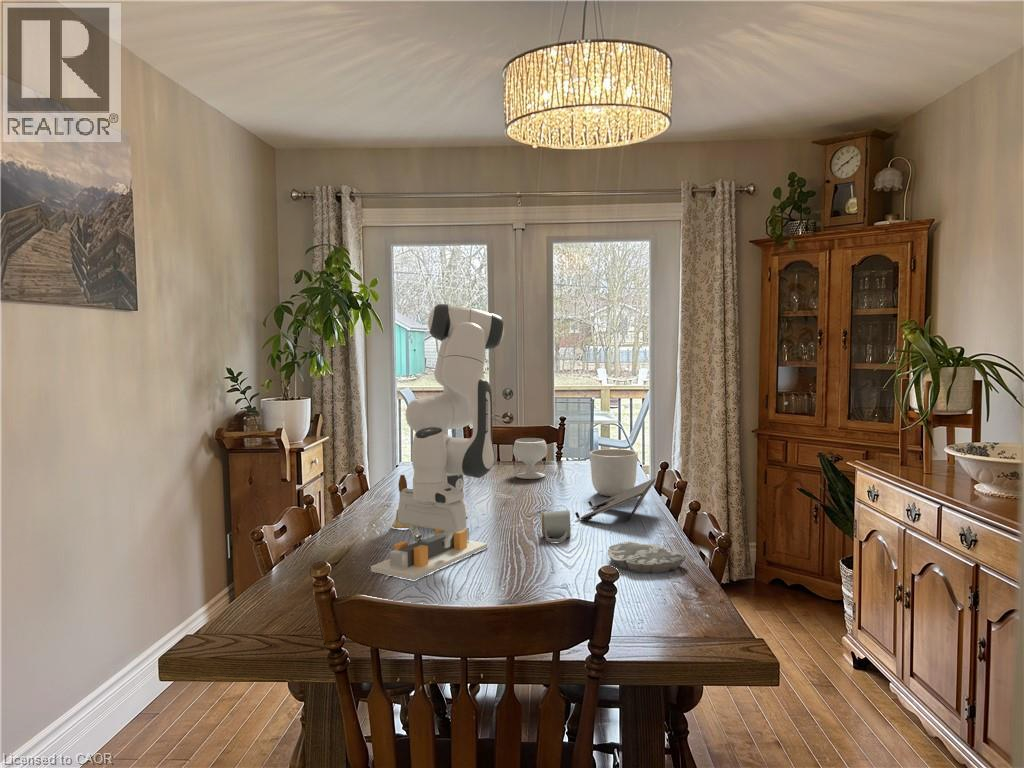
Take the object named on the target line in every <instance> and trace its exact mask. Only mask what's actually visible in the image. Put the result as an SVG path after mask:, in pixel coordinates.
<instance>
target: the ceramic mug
mask: <svg viewBox="0 0 1024 768" xmlns="http://www.w3.org/2000/svg"><path fill="white" fill-rule="evenodd" d="M571 529H572V528H571V513H570V510H568V509H567V510H563V509H562V510H554V511H550V510H549V511H545V512H542V514H541V534H542V536H543V537H545V539H546V541H547V542H548V541H549V542H548V543H550V542H561V543H563V542H564V541H565V540H566V539H570V538H572V537H571V536H572V535H571V533H572V530H571ZM549 537H559V538H549Z"/></svg>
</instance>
